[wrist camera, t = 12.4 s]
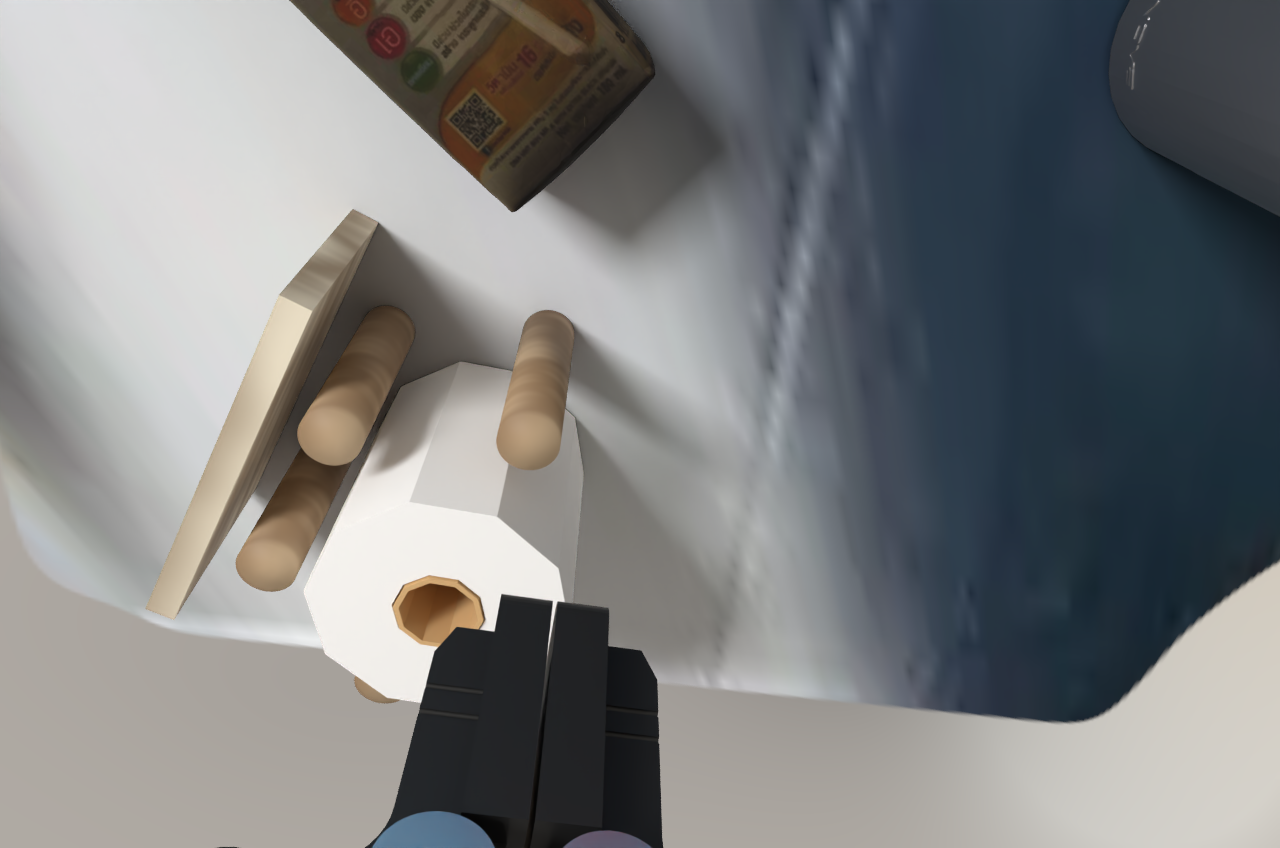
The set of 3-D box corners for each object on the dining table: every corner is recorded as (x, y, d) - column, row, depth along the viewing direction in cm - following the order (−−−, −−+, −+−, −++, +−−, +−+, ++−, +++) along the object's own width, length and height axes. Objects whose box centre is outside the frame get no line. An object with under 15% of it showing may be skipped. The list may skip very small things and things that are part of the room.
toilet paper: (612, 506, 50) (607, 674, 39) (428, 559, 51) (375, 734, 41) (540, 335, 45) (512, 472, 34) (340, 398, 46) (253, 549, 36)
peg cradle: (583, 325, 45) (571, 433, 36) (436, 570, 52) (396, 710, 43) (354, 205, 42) (281, 290, 33) (231, 481, 49) (143, 612, 40)
